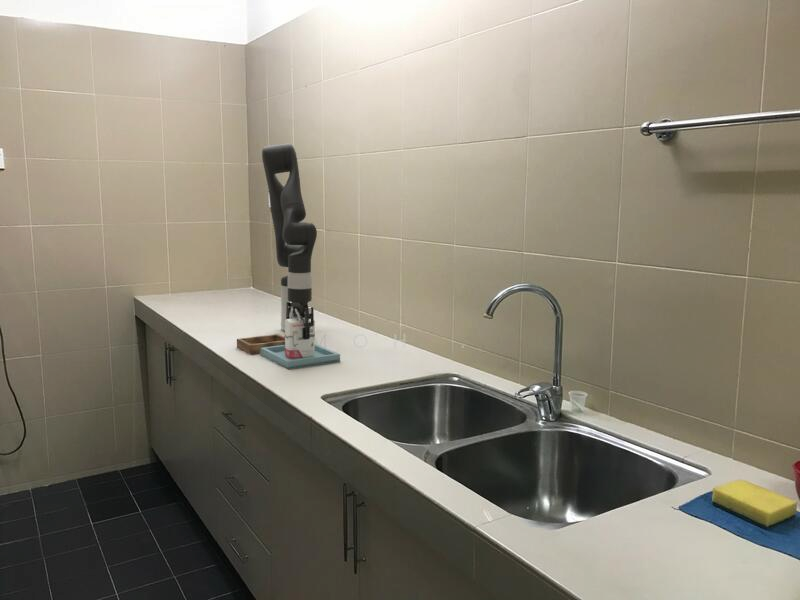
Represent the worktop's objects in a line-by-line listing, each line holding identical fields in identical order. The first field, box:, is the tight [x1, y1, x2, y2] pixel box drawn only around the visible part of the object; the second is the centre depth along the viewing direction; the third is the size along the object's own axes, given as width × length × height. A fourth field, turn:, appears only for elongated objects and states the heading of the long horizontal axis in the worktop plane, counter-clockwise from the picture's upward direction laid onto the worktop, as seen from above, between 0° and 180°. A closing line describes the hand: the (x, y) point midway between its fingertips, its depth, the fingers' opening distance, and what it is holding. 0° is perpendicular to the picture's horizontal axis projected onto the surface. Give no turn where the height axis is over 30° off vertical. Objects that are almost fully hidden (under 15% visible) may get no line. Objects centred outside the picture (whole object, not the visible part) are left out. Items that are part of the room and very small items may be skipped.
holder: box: [236, 333, 285, 355], centre depth 223 cm, size 15×11×3 cm
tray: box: [259, 343, 341, 370], centre depth 211 cm, size 18×20×2 cm
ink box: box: [284, 318, 316, 359], centre depth 210 cm, size 9×5×12 cm, turn 119°
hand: (299, 336), depth 210 cm, fingers open, 8 cm apart
